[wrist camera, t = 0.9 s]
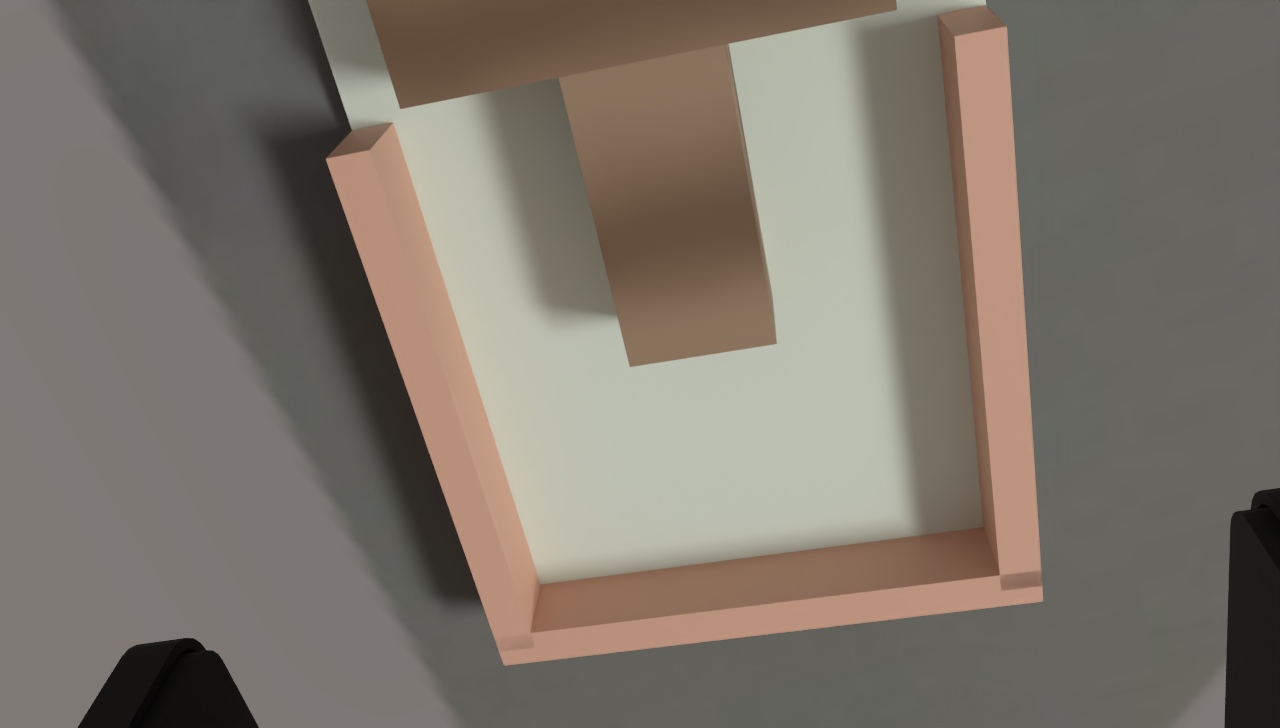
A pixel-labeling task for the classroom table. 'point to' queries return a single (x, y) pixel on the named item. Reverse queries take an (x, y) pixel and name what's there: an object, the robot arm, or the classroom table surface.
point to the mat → (724, 382)
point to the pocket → (756, 586)
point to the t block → (632, 138)
